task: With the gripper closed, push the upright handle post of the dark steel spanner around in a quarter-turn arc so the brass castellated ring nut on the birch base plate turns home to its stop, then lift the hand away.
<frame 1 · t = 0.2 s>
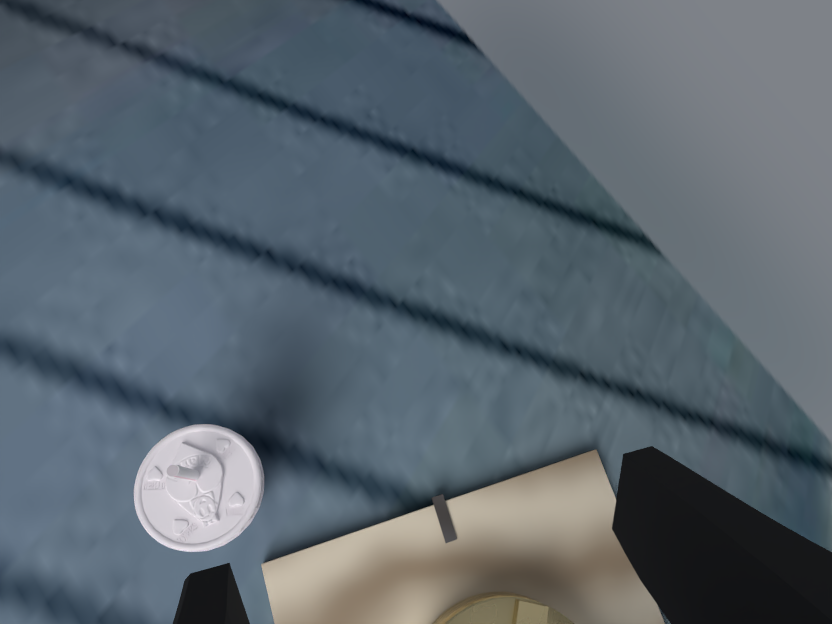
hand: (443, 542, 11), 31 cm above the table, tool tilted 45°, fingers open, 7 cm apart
smoothie: (230, 491, 40), on the table
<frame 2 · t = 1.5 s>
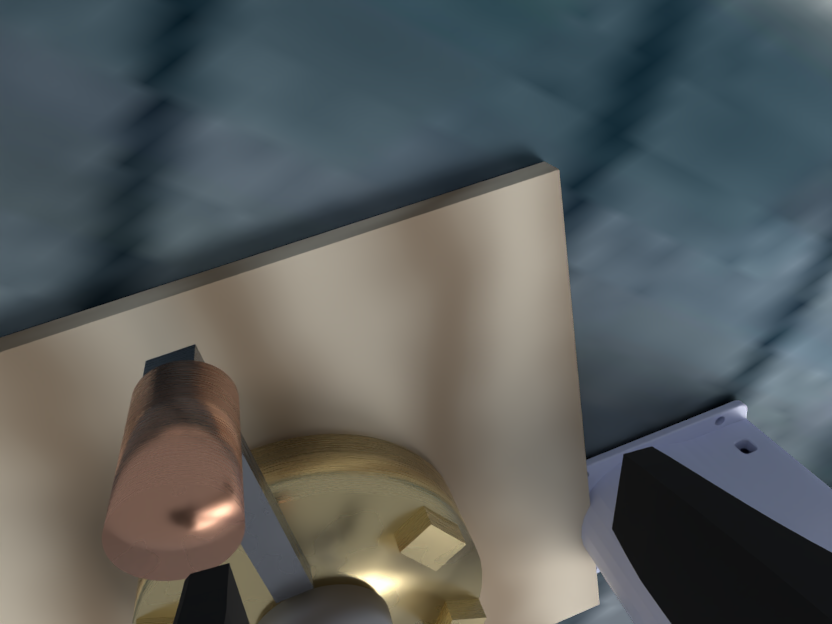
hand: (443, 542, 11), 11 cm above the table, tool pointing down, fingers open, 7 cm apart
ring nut: (294, 598, 18), point 5 cm above the table, hinge at 0.0°
base plate: (305, 531, 24), on the table
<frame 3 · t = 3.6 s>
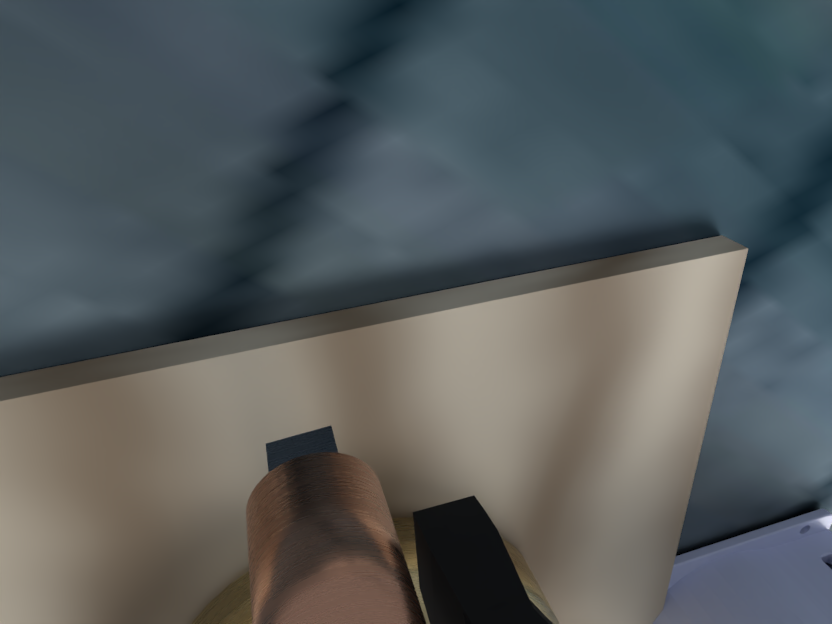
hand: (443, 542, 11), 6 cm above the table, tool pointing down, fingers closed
base plate: (358, 617, 20), on the table
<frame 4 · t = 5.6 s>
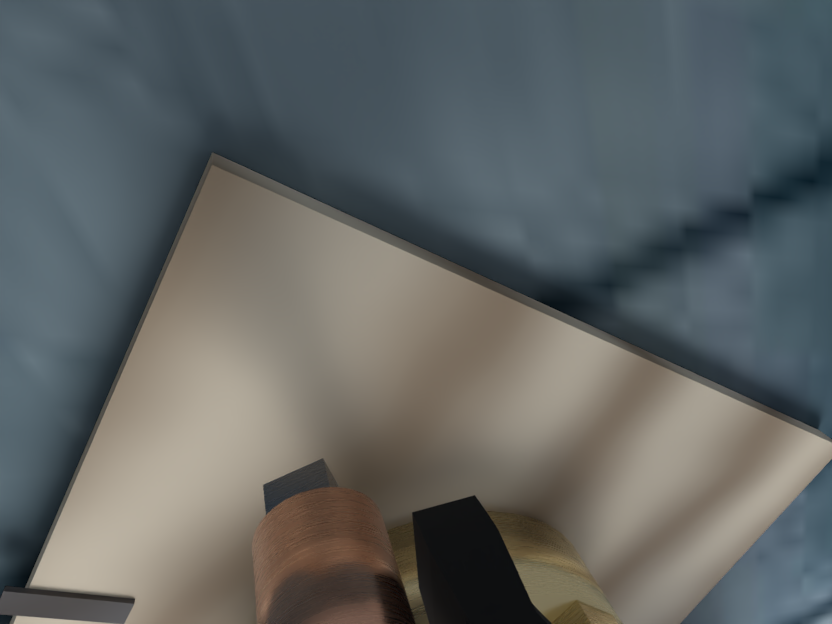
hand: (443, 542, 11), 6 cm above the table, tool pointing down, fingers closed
base plate: (414, 609, 21), on the table
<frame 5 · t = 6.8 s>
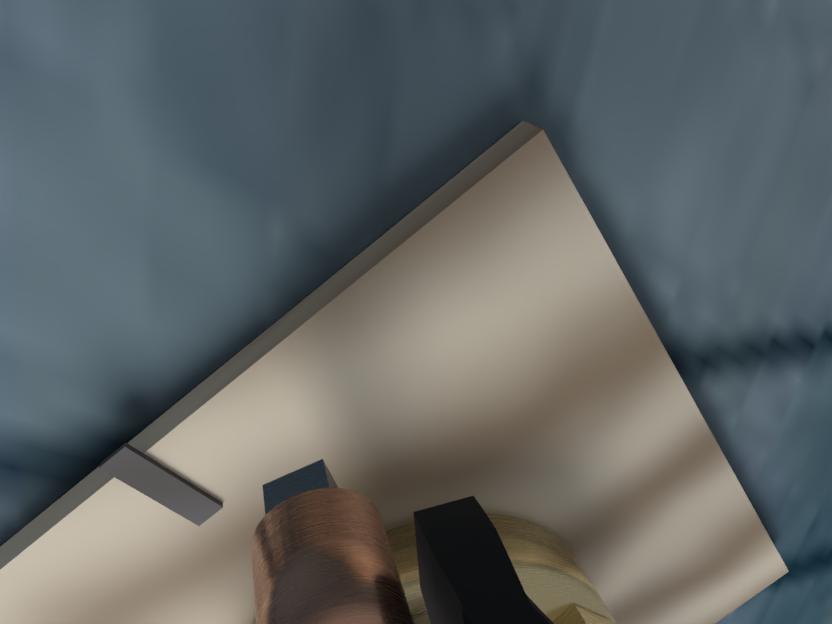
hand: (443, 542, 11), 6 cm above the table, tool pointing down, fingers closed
base plate: (410, 612, 21), on the table
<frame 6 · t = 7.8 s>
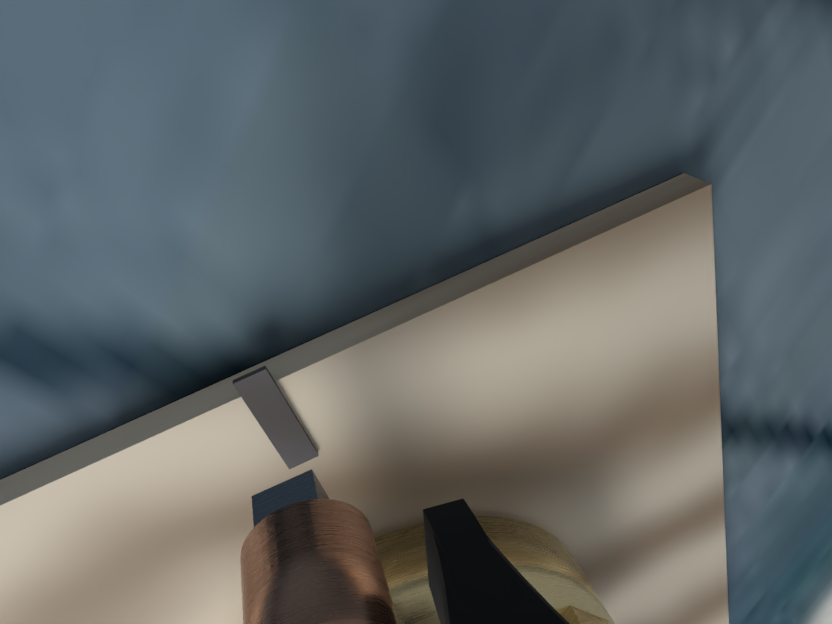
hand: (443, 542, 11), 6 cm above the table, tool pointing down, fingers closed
base plate: (409, 613, 21), on the table
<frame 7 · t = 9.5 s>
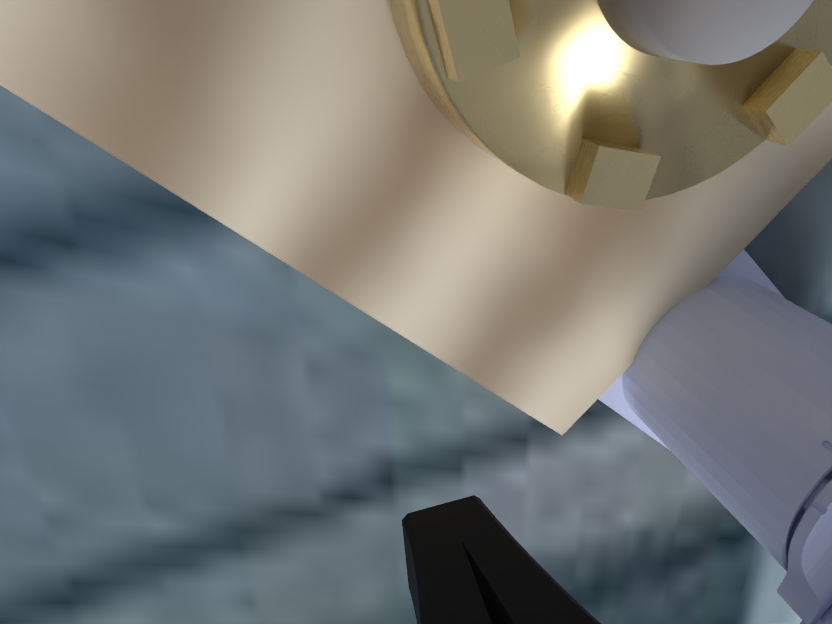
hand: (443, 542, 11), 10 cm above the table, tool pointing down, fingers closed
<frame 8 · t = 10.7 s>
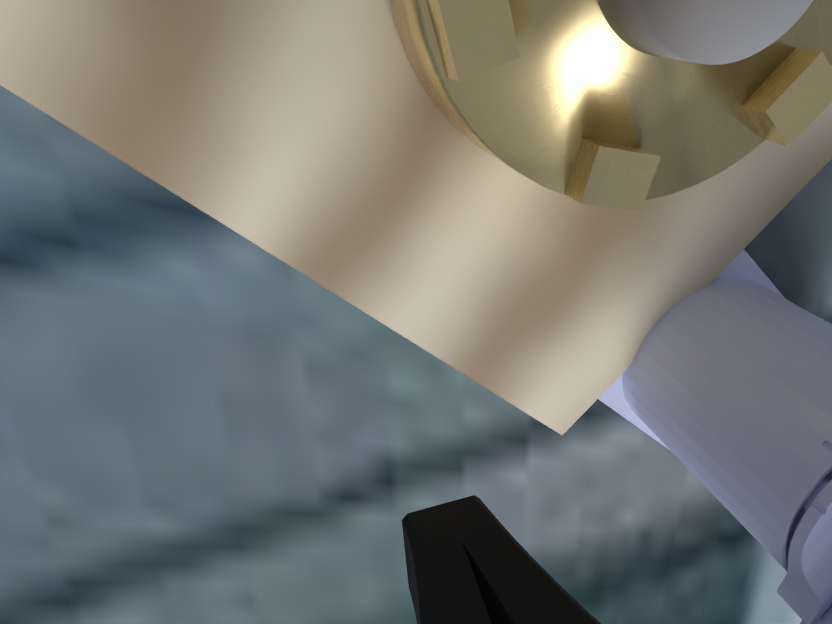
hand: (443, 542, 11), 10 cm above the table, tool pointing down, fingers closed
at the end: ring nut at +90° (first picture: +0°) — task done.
